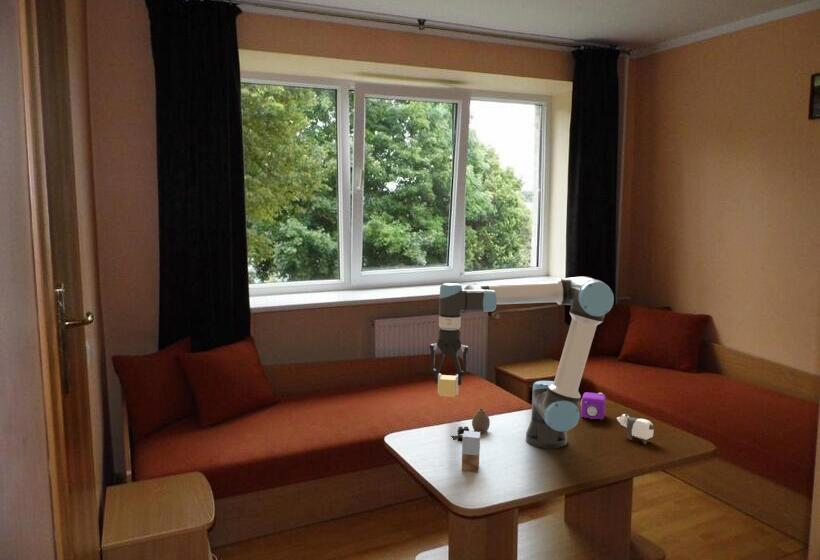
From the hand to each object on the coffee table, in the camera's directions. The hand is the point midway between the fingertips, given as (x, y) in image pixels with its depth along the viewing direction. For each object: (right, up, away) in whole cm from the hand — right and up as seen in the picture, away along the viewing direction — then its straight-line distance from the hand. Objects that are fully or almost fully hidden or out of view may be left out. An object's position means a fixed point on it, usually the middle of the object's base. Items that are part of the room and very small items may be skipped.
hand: (447, 392), depth 216 cm
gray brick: (+7, -18, -8) cm, 21 cm away
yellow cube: (0, 0, 0) cm, 0 cm away
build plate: (+7, -21, +19) cm, 30 cm away
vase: (+14, -20, +27) cm, 36 cm away
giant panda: (+73, -22, +21) cm, 79 cm away
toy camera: (+64, -19, +45) cm, 80 cm away
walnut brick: (+7, -24, -8) cm, 26 cm away
